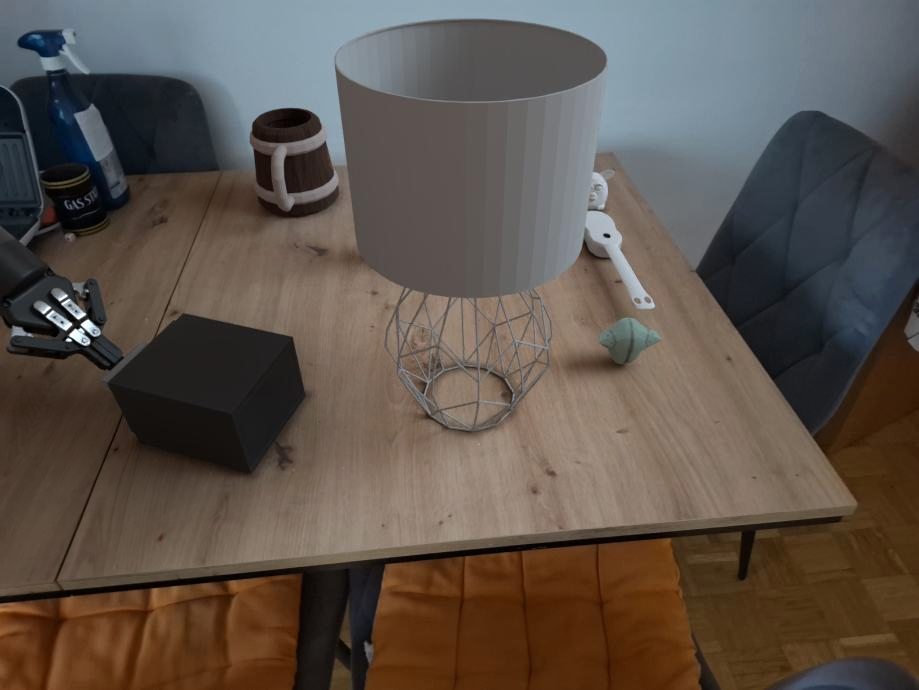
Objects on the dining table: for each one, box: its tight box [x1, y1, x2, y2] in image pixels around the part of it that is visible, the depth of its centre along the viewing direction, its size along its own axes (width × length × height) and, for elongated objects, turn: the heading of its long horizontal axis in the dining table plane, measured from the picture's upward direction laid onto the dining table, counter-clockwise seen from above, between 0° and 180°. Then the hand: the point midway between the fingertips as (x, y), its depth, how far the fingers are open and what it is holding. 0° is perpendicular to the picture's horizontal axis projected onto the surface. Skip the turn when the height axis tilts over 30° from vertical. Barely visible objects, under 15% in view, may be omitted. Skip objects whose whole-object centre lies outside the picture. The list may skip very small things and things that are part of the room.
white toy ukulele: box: [583, 210, 656, 311], centre depth 99 cm, size 28×6×3 cm, turn 7°
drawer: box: [99, 319, 176, 433], centre depth 73 cm, size 18×11×8 cm, turn 72°
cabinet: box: [110, 312, 307, 475], centre depth 72 cm, size 15×13×10 cm
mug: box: [249, 107, 340, 217], centre depth 111 cm, size 20×15×15 cm
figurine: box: [587, 169, 615, 212], centre depth 114 cm, size 8×6×7 cm
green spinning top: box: [598, 316, 663, 365], centre depth 81 cm, size 8×4×7 cm, turn 93°
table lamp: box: [333, 17, 610, 432], centre depth 65 cm, size 22×22×40 cm
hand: (118, 365), depth 75 cm, fingers closed
